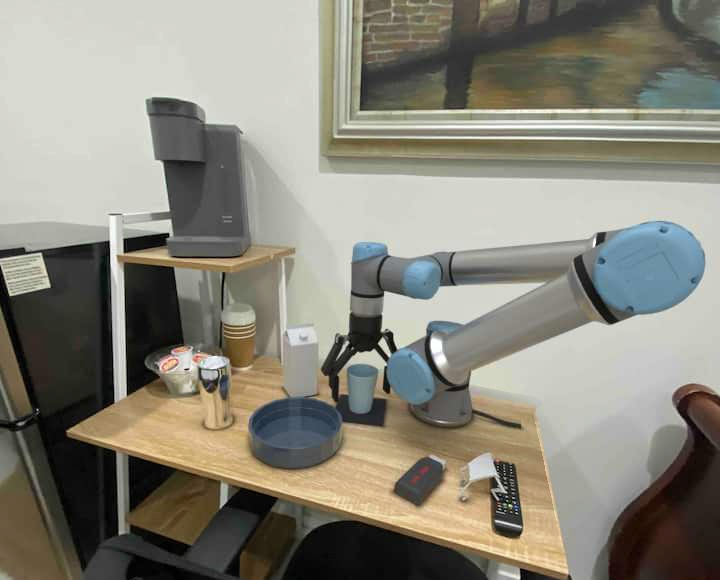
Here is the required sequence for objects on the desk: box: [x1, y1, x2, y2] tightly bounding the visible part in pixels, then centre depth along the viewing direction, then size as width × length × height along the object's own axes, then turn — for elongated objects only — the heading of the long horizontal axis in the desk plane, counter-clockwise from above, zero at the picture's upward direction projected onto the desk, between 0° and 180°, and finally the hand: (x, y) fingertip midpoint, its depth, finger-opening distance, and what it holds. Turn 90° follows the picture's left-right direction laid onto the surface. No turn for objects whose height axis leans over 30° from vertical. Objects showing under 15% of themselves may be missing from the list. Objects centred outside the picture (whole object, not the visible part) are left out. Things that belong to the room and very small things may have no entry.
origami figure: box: [457, 452, 507, 501], centre depth 73 cm, size 12×8×5 cm
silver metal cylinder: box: [196, 355, 234, 430], centre depth 86 cm, size 7×7×15 cm
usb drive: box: [393, 454, 447, 507], centre depth 74 cm, size 5×12×3 cm, turn 142°
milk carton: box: [282, 322, 319, 398], centre depth 101 cm, size 7×7×19 cm
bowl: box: [247, 396, 344, 469], centre depth 83 cm, size 19×19×5 cm
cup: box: [345, 363, 379, 414], centre depth 95 cm, size 8×8×10 cm
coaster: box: [335, 393, 387, 427], centre depth 97 cm, size 12×12×1 cm
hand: (361, 395), depth 95 cm, fingers open, 13 cm apart
